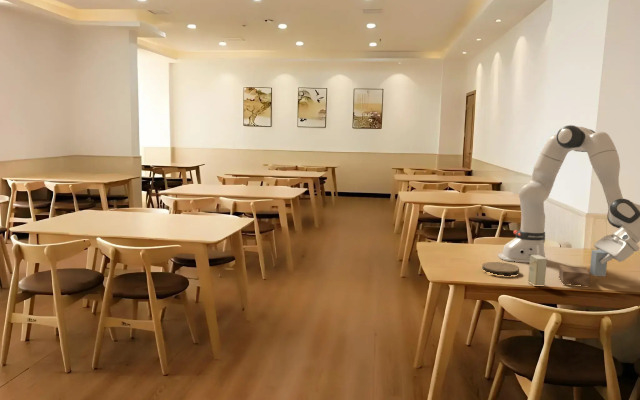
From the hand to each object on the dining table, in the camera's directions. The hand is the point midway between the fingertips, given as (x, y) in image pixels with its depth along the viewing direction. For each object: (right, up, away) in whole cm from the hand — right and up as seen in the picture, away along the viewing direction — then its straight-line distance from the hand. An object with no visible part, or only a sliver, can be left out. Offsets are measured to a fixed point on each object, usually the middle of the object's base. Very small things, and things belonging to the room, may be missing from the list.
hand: (597, 260), depth 212 cm
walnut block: (-9, -10, +2) cm, 14 cm away
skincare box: (-26, -10, -2) cm, 28 cm away
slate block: (+1, -6, +1) cm, 6 cm away
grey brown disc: (-35, -8, +17) cm, 40 cm away
